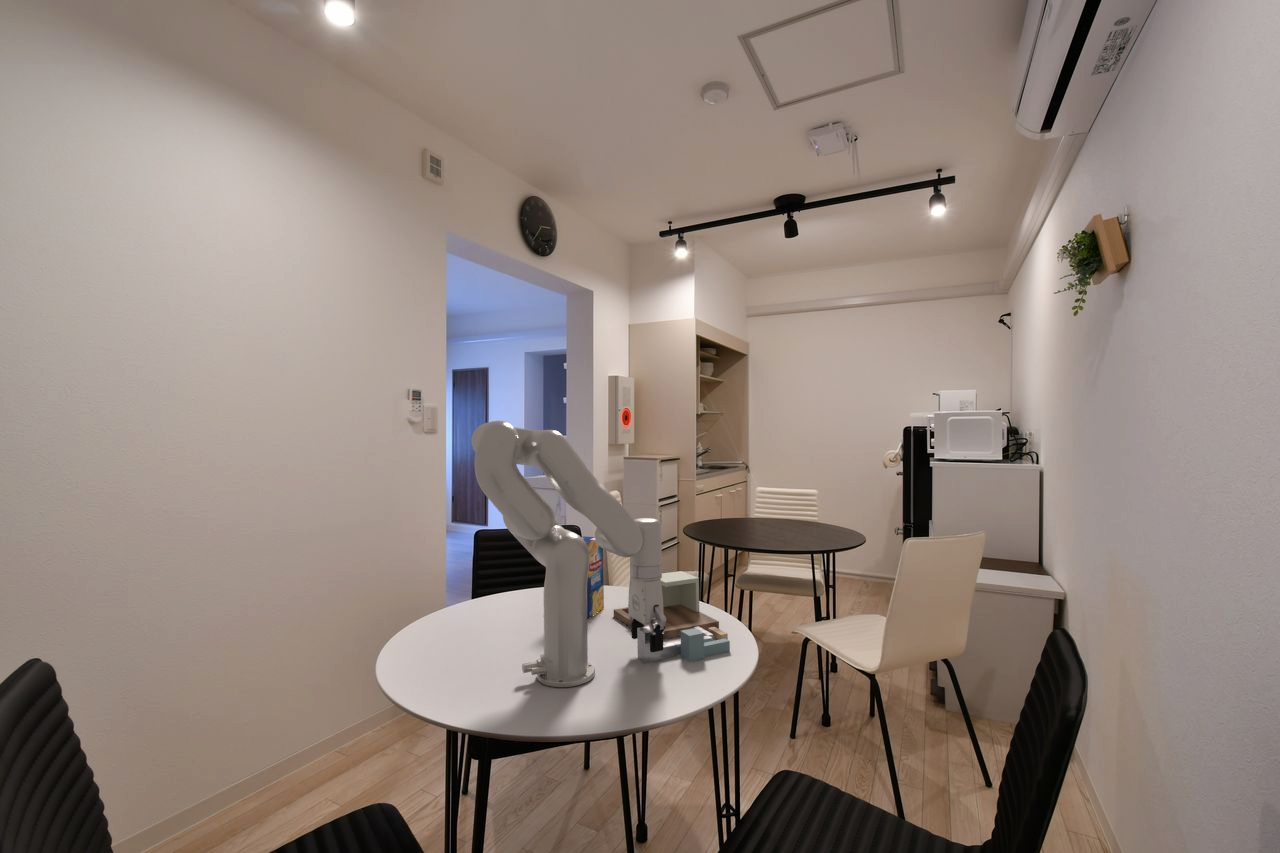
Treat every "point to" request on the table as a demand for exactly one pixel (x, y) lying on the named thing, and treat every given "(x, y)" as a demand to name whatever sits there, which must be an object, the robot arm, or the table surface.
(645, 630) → the crook
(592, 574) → the blue food box
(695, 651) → the light blue l-shaped block
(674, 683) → the table surface
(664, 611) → the deck
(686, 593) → the cubby
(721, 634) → the short block
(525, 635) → the table surface
